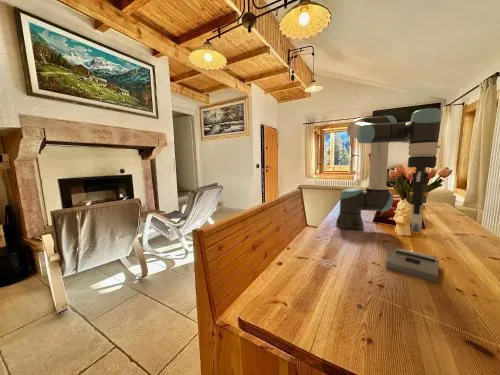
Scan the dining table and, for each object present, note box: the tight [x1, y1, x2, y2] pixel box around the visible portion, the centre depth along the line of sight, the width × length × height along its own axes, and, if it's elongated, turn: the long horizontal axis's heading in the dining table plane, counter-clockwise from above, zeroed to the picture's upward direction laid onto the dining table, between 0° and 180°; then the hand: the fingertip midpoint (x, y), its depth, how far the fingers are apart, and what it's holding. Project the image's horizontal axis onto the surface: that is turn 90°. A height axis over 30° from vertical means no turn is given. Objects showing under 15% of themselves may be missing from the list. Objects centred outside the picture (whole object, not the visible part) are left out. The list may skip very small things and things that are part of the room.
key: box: [409, 191, 429, 233], centre depth 72 cm, size 5×4×14 cm
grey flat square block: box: [385, 246, 440, 284], centre depth 74 cm, size 14×14×4 cm
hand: (416, 221), depth 72 cm, fingers closed on key, 3 cm apart
